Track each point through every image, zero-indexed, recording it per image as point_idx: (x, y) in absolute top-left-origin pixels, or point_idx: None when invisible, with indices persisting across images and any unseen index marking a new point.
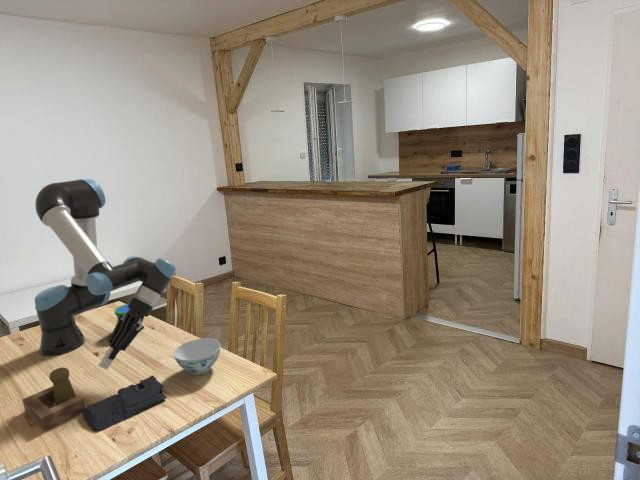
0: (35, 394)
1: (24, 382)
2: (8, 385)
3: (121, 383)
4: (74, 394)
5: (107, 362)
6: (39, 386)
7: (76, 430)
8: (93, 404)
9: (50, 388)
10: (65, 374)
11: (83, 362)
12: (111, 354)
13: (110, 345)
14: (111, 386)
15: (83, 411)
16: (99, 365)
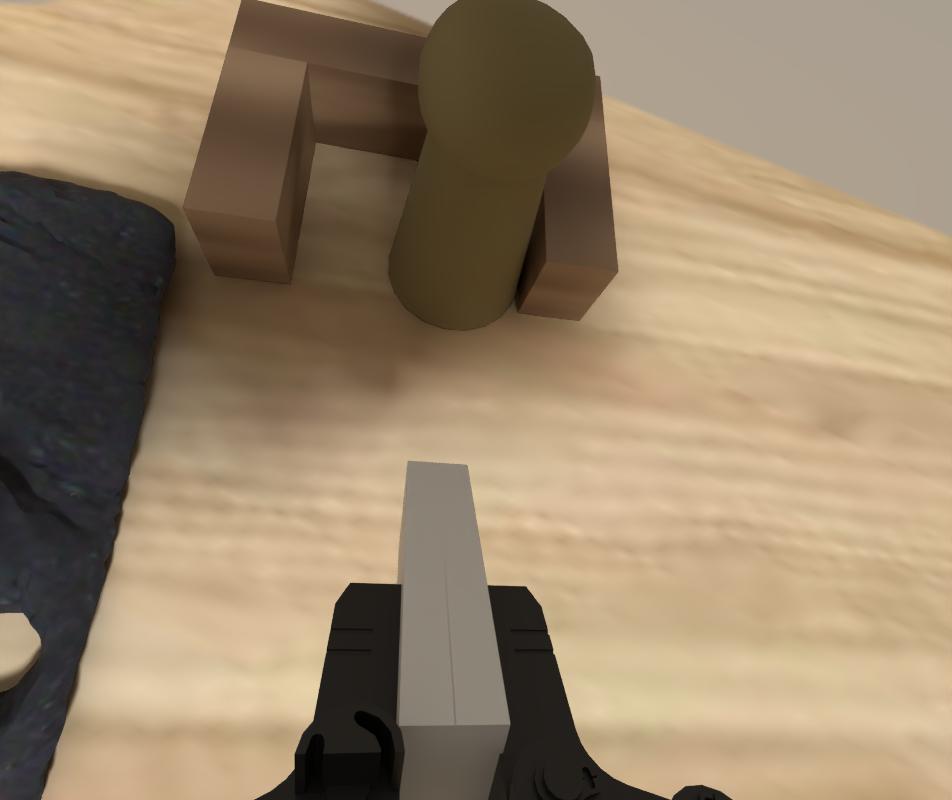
0: (593, 126)
1: (899, 280)
2: (917, 232)
3: (317, 634)
4: (422, 282)
5: (400, 560)
6: (792, 295)
7: (55, 142)
8: (114, 267)
9: (591, 195)
10: (428, 79)
11: (945, 610)
12: (364, 643)
13: (542, 757)
14: (358, 550)
15: (119, 198)
16: (441, 467)
